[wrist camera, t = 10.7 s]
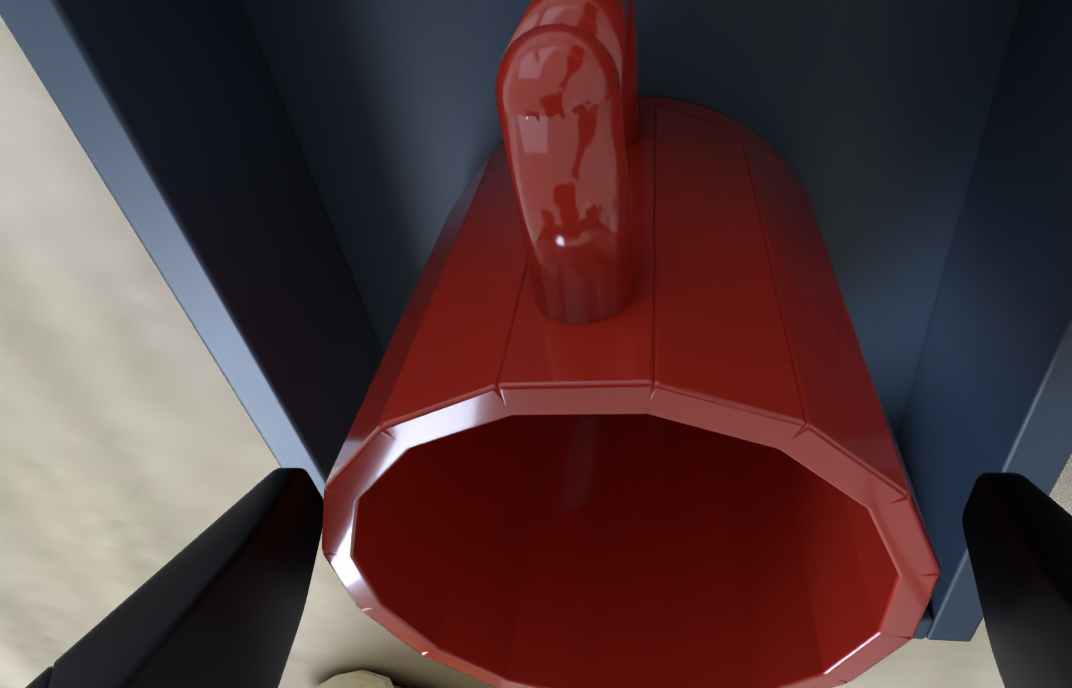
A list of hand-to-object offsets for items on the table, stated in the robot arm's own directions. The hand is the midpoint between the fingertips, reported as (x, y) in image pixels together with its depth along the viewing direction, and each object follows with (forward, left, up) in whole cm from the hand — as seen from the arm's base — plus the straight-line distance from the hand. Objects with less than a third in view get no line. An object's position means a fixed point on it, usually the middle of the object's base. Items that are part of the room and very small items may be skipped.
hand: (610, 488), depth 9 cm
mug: (0, -1, -5) cm, 5 cm away
